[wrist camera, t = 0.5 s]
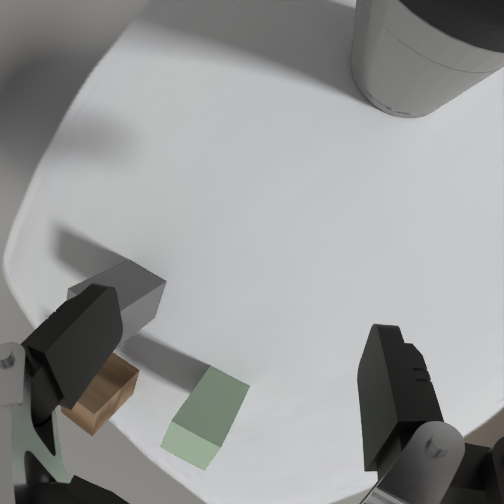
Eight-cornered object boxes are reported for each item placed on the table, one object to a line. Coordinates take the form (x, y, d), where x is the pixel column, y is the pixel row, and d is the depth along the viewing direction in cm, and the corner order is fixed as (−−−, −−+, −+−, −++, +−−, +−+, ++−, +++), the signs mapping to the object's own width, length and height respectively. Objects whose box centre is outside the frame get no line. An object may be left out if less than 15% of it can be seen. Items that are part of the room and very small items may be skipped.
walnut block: (109, 350, 39) (61, 388, 29) (139, 370, 38) (94, 414, 29) (104, 374, 40) (61, 411, 31) (133, 393, 40) (92, 436, 30)
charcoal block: (130, 259, 34) (68, 288, 25) (166, 281, 34) (109, 318, 24) (120, 296, 36) (63, 330, 26) (154, 317, 35) (101, 360, 26)
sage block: (210, 365, 35) (171, 420, 25) (250, 385, 34) (220, 447, 25) (197, 392, 36) (160, 446, 27) (233, 412, 36) (204, 470, 26)
